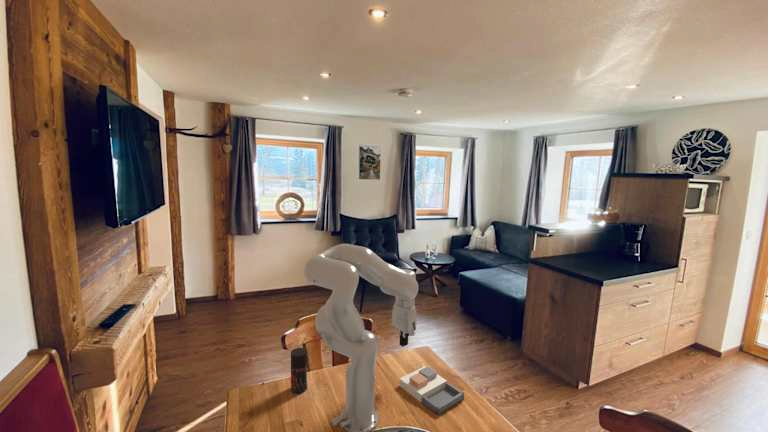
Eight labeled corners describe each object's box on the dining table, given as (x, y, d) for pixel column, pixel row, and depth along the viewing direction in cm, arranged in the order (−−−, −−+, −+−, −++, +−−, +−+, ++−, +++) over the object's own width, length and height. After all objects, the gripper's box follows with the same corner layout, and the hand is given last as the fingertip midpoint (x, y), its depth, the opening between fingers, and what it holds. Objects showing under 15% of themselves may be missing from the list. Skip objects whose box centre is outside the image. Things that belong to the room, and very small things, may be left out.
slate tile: (427, 381, 130) (428, 376, 130) (418, 375, 134) (418, 370, 134) (436, 377, 134) (436, 372, 133) (427, 370, 137) (427, 366, 137)
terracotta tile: (418, 388, 126) (418, 384, 126) (409, 382, 130) (409, 377, 130) (427, 383, 129) (428, 379, 129) (418, 377, 133) (418, 372, 133)
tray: (438, 415, 117) (438, 409, 116) (421, 402, 123) (421, 396, 123) (463, 399, 126) (464, 393, 125) (447, 388, 132) (447, 382, 131)
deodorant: (308, 392, 127) (308, 354, 125) (291, 395, 125) (291, 357, 123) (305, 382, 132) (305, 346, 130) (290, 385, 130) (289, 349, 128)
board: (421, 402, 123) (421, 394, 123) (399, 385, 132) (399, 378, 132) (446, 387, 132) (447, 380, 131) (424, 372, 141) (424, 366, 141)
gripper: (385, 297, 136) (384, 340, 139) (411, 310, 125) (409, 356, 128) (399, 293, 141) (398, 334, 144) (425, 305, 129) (423, 349, 132)
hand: (403, 344), depth 136 cm, fingers closed
